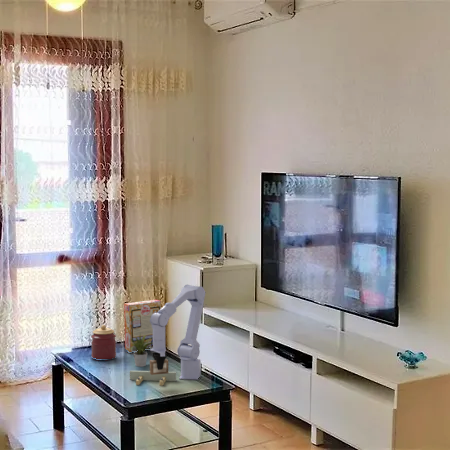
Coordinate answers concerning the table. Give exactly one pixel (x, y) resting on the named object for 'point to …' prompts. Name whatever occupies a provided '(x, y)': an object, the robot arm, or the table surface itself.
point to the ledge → (152, 377)
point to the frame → (155, 370)
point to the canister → (103, 343)
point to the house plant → (140, 351)
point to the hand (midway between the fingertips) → (159, 368)
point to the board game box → (139, 321)
